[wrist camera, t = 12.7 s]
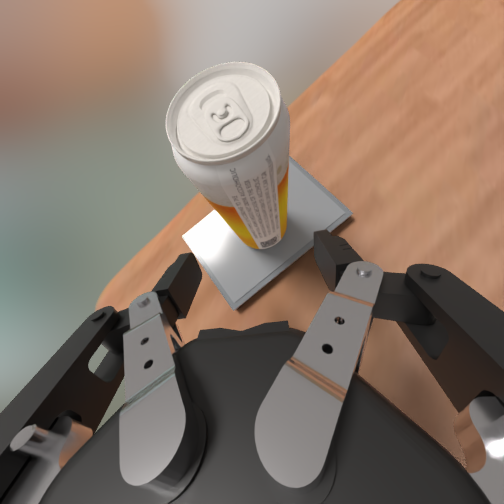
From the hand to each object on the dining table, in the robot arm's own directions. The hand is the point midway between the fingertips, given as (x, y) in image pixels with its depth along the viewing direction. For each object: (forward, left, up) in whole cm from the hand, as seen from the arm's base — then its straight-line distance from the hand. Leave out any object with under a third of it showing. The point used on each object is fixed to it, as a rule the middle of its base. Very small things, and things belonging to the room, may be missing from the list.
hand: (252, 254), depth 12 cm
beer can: (-3, -5, -10) cm, 11 cm away
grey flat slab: (-3, -5, -11) cm, 12 cm away
